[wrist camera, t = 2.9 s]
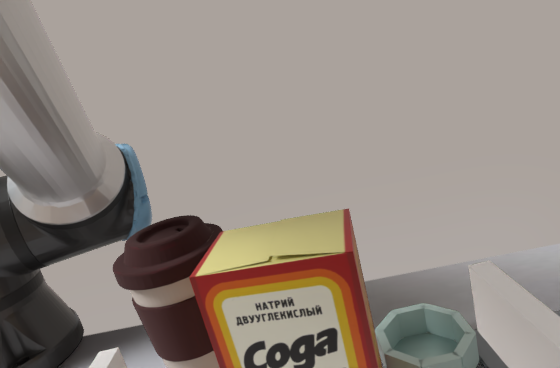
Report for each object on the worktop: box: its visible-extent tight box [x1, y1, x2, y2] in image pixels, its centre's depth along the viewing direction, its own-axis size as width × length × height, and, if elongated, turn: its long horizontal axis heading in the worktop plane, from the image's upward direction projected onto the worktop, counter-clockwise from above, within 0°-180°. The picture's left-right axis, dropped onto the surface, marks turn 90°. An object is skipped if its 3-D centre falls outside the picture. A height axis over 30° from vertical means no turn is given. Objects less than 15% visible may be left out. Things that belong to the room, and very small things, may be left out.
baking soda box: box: [189, 209, 382, 368], centre depth 27 cm, size 10×6×16 cm
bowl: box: [375, 303, 479, 368], centre depth 31 cm, size 7×7×4 cm
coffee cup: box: [113, 216, 222, 368], centre depth 37 cm, size 10×10×15 cm
